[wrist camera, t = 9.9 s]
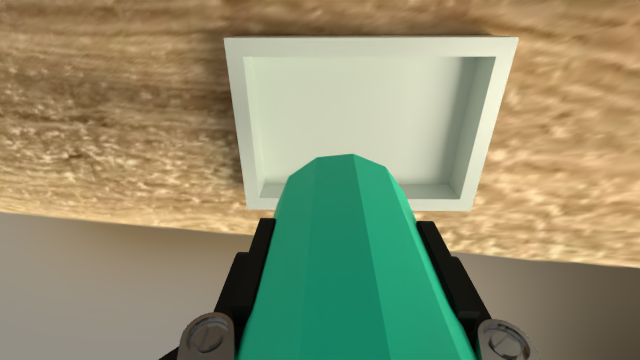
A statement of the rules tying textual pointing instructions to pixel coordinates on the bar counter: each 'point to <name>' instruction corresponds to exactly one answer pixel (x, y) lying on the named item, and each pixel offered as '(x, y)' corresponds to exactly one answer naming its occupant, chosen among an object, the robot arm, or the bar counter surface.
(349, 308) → the candle
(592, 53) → the bar counter surface
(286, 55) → the tray
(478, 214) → the bar counter surface
